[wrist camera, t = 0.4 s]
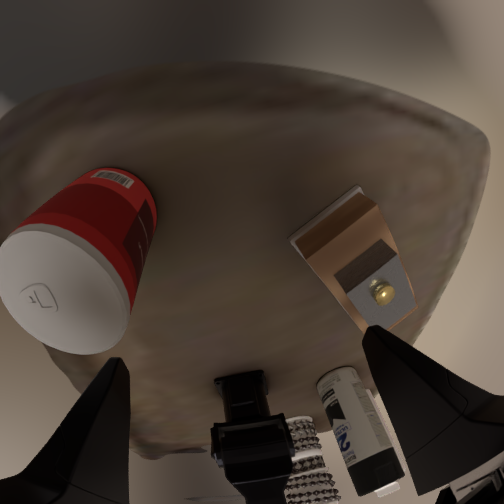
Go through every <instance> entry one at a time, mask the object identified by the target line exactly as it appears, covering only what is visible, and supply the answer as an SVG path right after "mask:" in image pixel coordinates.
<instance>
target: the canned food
mask: <svg viewBox="0 0 504 504" xmlns="http://www.w3.org/2000/svg"><path fill="white" fill-rule="evenodd" d="M156 222H157V213H156V207H155V203H154V200H153V198H152V196H151V194H150V191H149V190H148V188H147V187H146V186H145V184H144V183H143V182H142V181H141V180H139V179H138V178H137V177H136V176H134V175H133V174H131V173H129V172H127V171H124V170H121V169H114V168H99V169H95V170H92V171H89V172H88V173H86V174H84V175H82V176H81V177H79V178H78V179H77V180H75V181H74V182H72V183H71V184H70V185H68V186H67V187H65V188H64V189H63V190H61V191H60V192H59V193H57V194H56V195H55V196H53V197H52V198H51V199H50V200H48V201H47V202H46V203H45V204H43V205H42V206H41V207H40V208H38V209H37V210H36V211H35V212H34V213H32V214H31V215H30V216H29V217H28V218H27V219H25V220H24V221H23V222H22V223H21V224H20V225H19V226H18V227H17V228H16V229H15V230H14V231H13V232H12V233H11V234H10V235H9V236H8V238H7V239H6V240H5V241H4V243H3V244H2V246H1V247H0V296H1V299H2V301H3V303H4V305H5V306H6V308H7V309H8V311H9V312H10V314H11V315H12V316H13V318H14V319H15V320H16V321H17V322H18V323H19V324H20V325H21V326H22V327H23V328H24V329H25V330H26V331H27V332H28V333H30V334H31V335H32V336H34V337H35V338H36V339H38V340H40V341H41V342H43V343H45V344H47V345H49V346H51V347H53V348H56V349H58V350H61V351H65V352H69V353H74V354H96V353H100V352H104V351H106V350H108V349H110V348H112V347H113V346H114V345H116V344H117V343H118V342H119V341H120V339H121V338H122V336H123V335H124V332H125V329H126V327H127V325H128V322H129V318H130V315H131V310H132V307H133V304H134V300H135V296H136V293H137V289H138V285H139V281H140V278H141V274H142V270H143V267H144V264H145V260H146V257H147V253H148V250H149V247H150V244H151V241H152V237H153V234H154V231H155V228H156Z"/></svg>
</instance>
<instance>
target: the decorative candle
mask: <svg viewBox="0 0 504 504" xmlns="http://www.w3.org/2000/svg"><path fill="white" fill-rule="evenodd" d="M312 420H313V419H312V418H311V417H310V416H296V417H292V418H288V419H286V422H287V425H288V428H289V430H290V433H291V436H292V439H293V443H294V448H295V457H292V462H293V470H292V472H291V475H290V478H289V480H288V485H286V487H285V489H287V490H290V494H288V495H287V496H286V498H289V499H291V498H292V500H291V501H289V502H288V504H339V503H338V501H339V500H340V499H341V496H337V495H336V494H337V493H338V490H337V489H332V487H333V486H334V484H335V482H334V481H332V480H331V478H332V475H331V474H328V473H327V471H328V470H329V468H328V467H326V466H325V463H324V461H323V457H322V456H323V454H322V451H321V447H322V446H321V445H320V444H318V442H319V438H318V437H315V436H316V434H317V430H315V429H314V428H315V424H314V423H313V422H312Z"/></svg>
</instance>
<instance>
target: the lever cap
mask: <svg viewBox="0 0 504 504" xmlns="http://www.w3.org/2000/svg"><path fill="white" fill-rule="evenodd" d="M334 277H335V278H336V280H337V281H338V283H339V284H340V286H341V287H342V289H343V290H344V292H345V293H346V295H347V296H348V297H349V299H350V300H351V302H352V303H353V304H354V306H355V307H356V309H357V310H358V311H359V313H360V314H361V316H362V317H363V318H364V320H365V321H366V323H367V324H368V326H372V325H379V326H381V327H383V328H384V329H387V328H389V327H390V326H391V325H393V324H394V323H395V322H396V321H398V320H399V319H400V318H402V317H403V316H404V315H405V314H407V313H408V312H409V311H410V310H412V309H413V308H414V307H415V306H416V302H415V299H414V296H413V293H412V291H411V288H410V285H409V282H408V279H407V277H406V274H405V271H404V269H403V266H402V264H401V261H400V259H399V256H398V254H397V253H396V252H395V251H394V250H393V249H392V248H391V247H390V246H389V245H388V244H387V243H385V242H384V241H383V240H382V239H379V240H378V241H377V242H376V243H374V244H373V245H372V246H371V247H369V248H368V249H367V250H366V251H364V252H363V253H362V254H360V255H359V256H358V257H357V258H355V259H354V260H353V261H351V262H350V263H349V264H348V265H346V266H345V267H344V268H342V269H341V270H340V271H338V272H337V273H336V274H334Z"/></svg>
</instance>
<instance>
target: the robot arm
mask: <svg viewBox="0 0 504 504" xmlns="http://www.w3.org/2000/svg"><path fill="white" fill-rule="evenodd" d="M362 346H363V349H364V352H365V355H366V359H367V362H368V365H369V368H370V371H371V374H372V377H373V380H374V382H375V385H376V387H377V389H378V392H379V394H380V396H381V398H382V401H383V403H384V406H385V408H386V410H387V413H388V415H389V418H390V420H391V423H392V425H393V427H394V430H395V433H396V435H397V438H398V440H399V443H400V446H401V448H402V451H403V454H404V456H405V459H406V462H407V465H408V468H409V471H410V474H411V477H412V479H413V482H414V485H415V488H416V491H417V494H418V496H420V495H423V494H425V493H427V492H430V491H432V490H435V489H437V488H439V487H441V486H444V485H446V484H449V485H448V486H446V487H445V488H444V489H442V490H441V491H440V493H439V496H438V498H437V501H436V503H435V504H504V396H500V395H494V394H492V393H489V392H487V391H485V390H483V389H481V388H479V387H478V386H475V385H474V384H472V383H470V382H468V381H466V380H464V379H462V378H461V377H459V376H458V375H456V374H454V373H453V372H451V371H450V370H448V369H446V368H445V367H443V366H442V365H440V364H439V363H437V362H436V361H434V360H432V359H431V358H429V357H428V356H426V355H424V354H423V353H421V352H420V351H418V350H417V349H415V348H414V347H412V346H411V345H409V344H408V343H406V342H404V341H403V340H401V339H400V338H398V337H397V336H395V335H394V334H392V333H390V332H389V331H387V330H386V329H384V328H383V327H381V326H379V325H372V326H369V327H368V328H367V329H366V332H365V335H364V337H363V340H362ZM214 384H215V386H216V388H217V390H218V392H219V394H220V395H221V397H222V399H223V405H224V413H225V420H226V422H225V423H214V427H213V428H211V440H212V442H211V457H212V458H213V459H215V460H216V462H217V464H218V466H219V468H224V470H225V476H226V478H227V480H228V481H229V482H230V483H231V484H232V485H233V486H234V487H235V488H236V489H237V490H238V491H239V492H240V493H241V494H242V495H243V496H244V497H245V500H246V504H287V502H286V498H285V494H284V490H285V487H286V485H287V483H288V480H289V478H290V475H291V472H292V470H293V462H292V457H295V448H294V443H293V439H292V436H291V433H290V430H289V428H288V425H287V422H286V419H285V417H284V414H283V413H280V414H278V415H273V416H271V414H270V410H269V406H268V402H267V398H266V395H268V389H267V385H266V381H265V376H264V372H263V371H256V372H252V373H247V374H242V375H237V376H231V377H226V378H220V379H215V380H214ZM130 413H131V410H130V374H129V371H128V369H127V367H126V365H125V363H124V362H123V360H122V359H121V358H120V357H111V358H109V359H108V361H107V362H106V363H105V364H104V366H103V367H102V368H101V370H100V371H99V372H98V374H97V375H96V376H95V377H94V379H93V380H92V381H91V383H90V384H89V385H88V387H87V388H86V389H85V391H84V392H83V393H82V395H81V396H80V398H79V399H78V400H77V402H76V403H75V404H74V406H73V407H72V408H71V410H70V411H69V413H68V414H67V416H66V417H65V418H64V420H63V421H62V422H61V424H60V426H59V427H58V428H57V429H56V431H55V432H54V434H53V435H52V436H51V438H50V439H49V440H48V442H47V443H46V444H45V446H44V447H43V448H42V449H41V450H40V452H39V453H38V454H37V455H36V456H35V457H34V459H33V460H32V461H31V462H30V463H29V464H28V466H27V467H26V468H25V469H24V470H23V471H22V472H20V473H19V474H17V475H15V476H12V477H8V478H5V479H1V480H0V504H129V481H128V480H129V479H128V462H129V458H128V457H129V431H130Z"/></svg>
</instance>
